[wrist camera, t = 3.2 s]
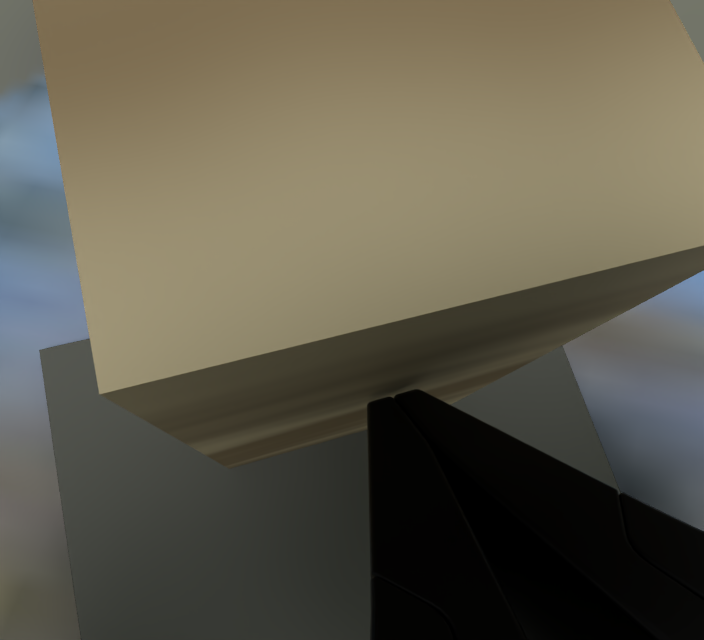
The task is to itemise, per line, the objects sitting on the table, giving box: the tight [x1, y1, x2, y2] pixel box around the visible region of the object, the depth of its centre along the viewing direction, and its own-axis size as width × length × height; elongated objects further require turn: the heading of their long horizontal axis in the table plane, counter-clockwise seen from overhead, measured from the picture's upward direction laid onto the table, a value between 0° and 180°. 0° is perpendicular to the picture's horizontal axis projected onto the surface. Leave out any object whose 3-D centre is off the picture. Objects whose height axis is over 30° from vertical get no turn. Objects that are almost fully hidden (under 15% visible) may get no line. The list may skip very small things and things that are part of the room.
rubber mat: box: [39, 339, 621, 640], centre depth 15 cm, size 13×14×1 cm
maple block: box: [33, 0, 704, 469], centre depth 10 cm, size 4×6×11 cm, turn 106°
